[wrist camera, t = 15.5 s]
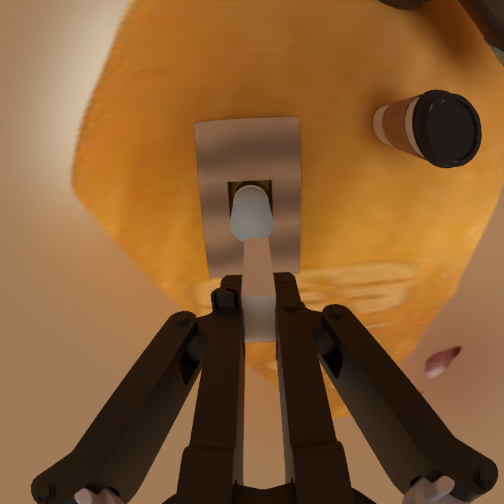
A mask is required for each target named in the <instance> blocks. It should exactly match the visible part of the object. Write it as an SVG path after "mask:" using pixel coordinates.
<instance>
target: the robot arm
mask: <svg viewBox="0 0 504 504" xmlns="http://www.w3.org/2000/svg"><path fill="white" fill-rule="evenodd" d="M379 1H381V2H383V3H385V4H388V5H390V6H393V7H396V8H400V9H406V10H413V9H417V8H419V7H421V6H423V5H425V4H427V3H428V2H429V1H430V0H379ZM458 1H459V2H460V4H461V5H462V6H463V8H464V9H465V10H466V12H467V13H468V14H469V16H470V17H471V19H472V20H473V21H474V23H475V24H476V26H477V27H478V29H479V30H480V32H481V33H482V35H483V36H484V40H485V41H486V43H487V44H488V45H489V46H490V47H491V49H492V50H493V52H494V53H495V55H496V57H497V58H498V60H499V62H500V63H501V64H502V65H503V66H504V0H458ZM211 302H212V308H213V311H212V313H210V314H208V315H206V316H202V317H198V318H196V315H195V314H193V313H192V312H189V311H181V312H177V313H175V314H173V315H172V316H170V317H169V319H168V320H167V321H166V323H165V324H164V325H163V326H162V328H161V329H160V330H159V332H158V333H157V334H156V336H155V337H154V338H153V340H152V341H151V342H150V344H149V345H148V346H147V348H146V349H145V350H144V352H143V353H142V354H141V356H140V357H139V359H138V360H137V361H136V363H135V364H134V365H133V367H132V368H131V369H130V371H129V372H128V373H127V375H126V376H125V378H124V379H123V380H122V382H121V383H120V385H119V386H118V387H117V389H116V390H115V392H114V393H113V394H112V396H111V397H110V398H109V400H108V401H107V403H106V404H105V405H104V407H103V408H102V410H101V411H100V412H99V414H98V415H97V417H96V418H95V419H94V421H93V423H92V424H91V425H90V427H89V428H88V430H87V431H86V432H85V434H84V435H83V437H82V438H81V440H80V442H79V443H78V444H77V445H76V447H75V449H74V450H73V451H72V452H71V453H70V454H68V455H67V456H65V457H64V458H63V459H61V460H60V461H58V462H57V463H55V464H54V465H53V466H51V467H50V468H48V469H47V470H46V471H44V472H43V473H41V474H40V475H38V476H37V477H36V478H35V479H34V480H33V482H32V485H31V493H32V496H33V498H34V500H35V501H36V502H37V504H127V503H128V502H129V501H130V500H131V499H132V497H133V496H134V495H135V494H136V492H137V491H138V489H139V488H140V486H141V484H142V483H143V481H144V479H145V477H146V475H147V473H148V471H149V469H150V467H151V465H152V464H153V462H154V460H155V458H156V456H157V454H158V452H159V450H160V448H161V446H162V444H163V442H164V440H165V439H166V437H167V435H168V433H169V431H170V429H171V427H172V425H173V423H174V421H175V419H176V417H177V415H178V414H179V411H180V410H181V408H182V406H183V404H184V402H185V400H186V398H187V396H188V394H189V392H190V390H191V388H192V386H193V384H194V383H195V381H196V378H197V377H198V375H199V373H200V371H201V369H202V371H201V378H200V383H199V389H198V395H197V401H196V407H195V413H194V420H193V426H192V432H191V439H190V444H189V446H187V447H186V448H185V449H184V451H183V455H182V460H181V466H180V473H179V479H178V486H177V493H176V494H175V495H173V496H171V497H170V498H168V499H167V500H166V501H165V502H163V503H162V504H376V503H375V502H374V501H372V500H371V499H369V498H368V497H366V496H365V495H364V494H362V493H361V492H359V491H358V490H356V489H353V488H351V482H350V477H349V472H348V467H347V462H346V457H345V452H344V448H343V446H342V444H341V442H339V441H337V439H336V435H335V431H334V426H333V421H332V416H331V412H330V407H329V402H328V398H327V393H326V389H325V385H324V380H323V376H322V372H321V367H320V363H321V364H322V366H323V368H324V369H325V371H326V373H327V375H328V376H329V378H330V380H331V381H332V383H333V385H334V386H335V388H336V390H337V391H338V393H339V395H340V396H341V398H342V400H343V401H344V403H345V405H346V406H347V408H348V410H349V411H350V413H351V415H352V416H353V418H354V420H355V421H356V423H357V425H358V427H359V428H360V430H361V431H362V433H363V435H364V437H365V438H366V440H367V442H368V443H369V445H370V447H371V448H372V450H373V451H374V453H375V455H376V457H377V458H378V460H379V462H380V463H381V465H382V467H383V469H384V470H385V472H386V474H387V475H388V477H389V478H390V480H391V481H392V482H393V484H394V485H395V486H396V487H397V488H398V490H399V491H400V492H401V493H402V494H404V498H403V500H402V504H470V503H471V502H472V501H473V500H475V499H476V498H478V497H480V496H481V495H483V494H485V493H486V492H488V491H489V490H491V489H492V488H493V486H494V485H495V484H496V481H497V478H498V469H497V466H496V464H495V463H494V462H493V461H492V460H491V459H489V458H487V457H486V456H484V455H482V454H481V453H479V452H477V451H476V450H474V449H472V448H471V447H469V446H467V445H466V444H464V443H463V442H461V441H459V440H458V439H457V438H455V437H454V436H453V435H452V433H451V432H450V431H449V429H448V428H447V427H446V426H445V424H444V423H443V422H442V420H441V419H440V418H439V416H438V415H437V414H436V413H435V411H434V410H433V409H432V408H431V406H430V405H429V404H428V403H427V401H426V400H425V399H424V398H423V396H422V395H421V394H420V393H419V391H418V390H417V389H416V388H415V386H414V385H413V384H412V383H411V381H410V380H409V379H408V378H407V377H406V375H405V374H404V373H403V372H402V371H401V370H400V368H399V367H398V366H397V365H396V363H395V362H394V361H393V360H392V359H391V357H390V356H389V355H388V354H387V353H386V351H385V350H384V349H383V348H382V347H381V346H380V344H379V343H378V342H377V341H376V340H375V338H374V337H373V336H372V335H371V334H370V333H369V332H368V330H367V329H366V328H365V327H364V326H363V325H362V323H361V322H360V321H359V320H358V319H357V318H356V317H355V315H354V314H353V313H352V312H351V311H350V310H349V309H348V308H347V307H345V306H342V305H338V304H333V305H328V306H326V307H325V308H324V309H323V311H322V312H319V311H313V310H310V309H307V308H306V307H305V305H304V303H303V302H301V299H300V295H299V291H298V288H297V284H296V280H295V276H294V275H293V274H292V273H290V272H274V273H273V269H272V261H271V254H270V247H269V239H268V238H251V239H245V243H244V258H243V274H242V275H226V276H225V277H224V278H223V279H222V280H221V286H220V288H217V289H215V290H214V291H212V293H211ZM252 342H276V360H277V367H278V379H279V391H280V404H281V416H282V430H283V443H284V457H285V472H286V477H285V478H286V479H285V484H284V485H281V486H277V487H273V488H270V489H257V488H251V487H247V486H244V484H243V438H244V437H243V436H244V390H245V343H252ZM319 361H320V363H319Z"/></svg>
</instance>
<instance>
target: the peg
mask: <svg viewBox="0 0 504 504" xmlns="http://www.w3.org/2000/svg"><path fill="white" fill-rule="evenodd" d="M273 223H274V222H273V217H272V213H271V209H270V206H269V202H268V197H267V195H266V192H265V189H264V187H263V186H262V184H260V183H259V182H257V181H244V182H242V183H241V184H240V185H239V186H238V187H237V189H236V193H235V197H234V201H233V208H232V213H231V218H230V227H231V231H232V233H233V234H234V236H235V237H236V238H237V239H239V240H240V241H242V242H245V239H251V238H267V237H268V236H269V235H270V233H271V231H272V229H273Z"/></svg>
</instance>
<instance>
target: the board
mask: <svg viewBox="0 0 504 504" xmlns="http://www.w3.org/2000/svg"><path fill="white" fill-rule="evenodd" d="M194 130H195V144H196V157H197V169H198V180H199V191H200V201H201V211H202V220H203V229H204V238H205V246H206V255H207V262H208V270H209V278H224V277H225V276H226V275H242V274H243V258H244V243H245V242H242V241H240V240H239V239H237V238H236V237H235V236H234V234H233V233H232V231H231V227H230V218H231V213H232V204H231V189H230V182H236V181H255V180H270V206H271V213H272V217H273V222H274V223H273V229H272V231H271V233H270V235H269V236H268V237H267V238H268V239H269V247H270V254H271V261H272V269H273V273H274V272H290V273H292V274H299V270H300V229H301V164H300V124H299V117H270V118H244V119H228V120H216V121H205V122H196V123H194Z"/></svg>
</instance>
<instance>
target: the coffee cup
mask: <svg viewBox="0 0 504 504" xmlns="http://www.w3.org/2000/svg"><path fill="white" fill-rule="evenodd" d="M373 129H374V132H375V134H376V136H377V138H378V139H379V140H380V141H381V142H383V143H384V144H386V145H389V146H392V147H395V148H397V149H400V150H402V151H405V152H407V153H410V154H412V155H414V156H417V157H419V158H422V159H424V160H427V161H429V162H430V163H431V164H433V165H435V166H437V167H441V168H452V167H459V166H463V165H465V164H466V163H468V162H469V161H470V160H472V159H473V157H474V156H475V155H476V153H477V151H478V150H479V147H480V144H481V138H482V132H481V123H480V118H479V115H478V113H477V112H476V110H475V109H474V107H473V106H472V105H471V103H470V102H469V101H468V100H467V99H465V98H464V97H463V96H460V95H458V94H452V93H449V92H447V91H442V90H430V91H427V92H425V93H424V94H421V95H417V96H414V97H411V98H408V99H405V100H401V101H398V102H395V103H393V104H389V105H386V106H383V107H381V108H379V109H378V110H377V111H376V113H375V115H374V117H373Z"/></svg>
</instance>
